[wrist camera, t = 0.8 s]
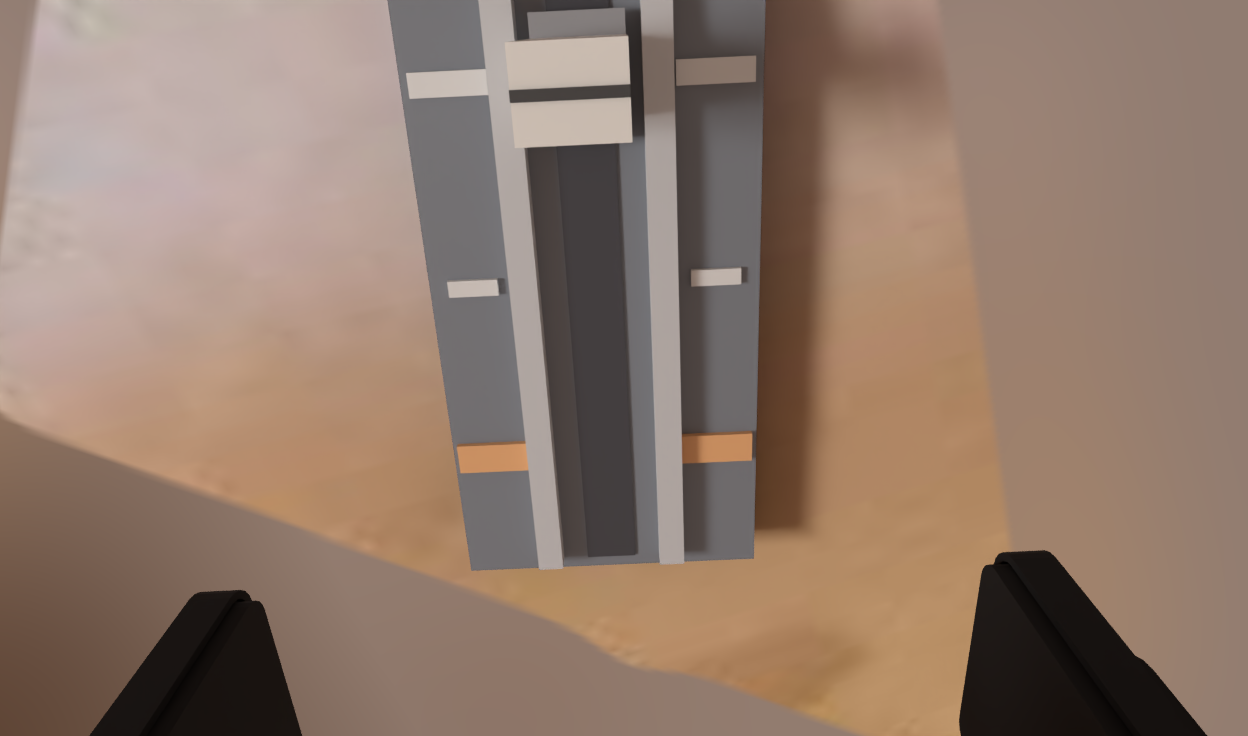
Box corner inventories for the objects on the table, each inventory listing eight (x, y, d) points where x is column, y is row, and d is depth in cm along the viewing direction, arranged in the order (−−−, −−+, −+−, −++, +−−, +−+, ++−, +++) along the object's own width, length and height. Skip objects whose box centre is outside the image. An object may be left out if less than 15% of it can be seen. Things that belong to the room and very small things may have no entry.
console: (398, -29, 27) (375, -34, 24) (756, -47, 27) (771, -55, 24) (478, 542, 36) (468, 582, 33) (746, 531, 36) (756, 570, 33)
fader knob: (529, 12, 25) (500, 8, 19) (624, 8, 25) (626, 1, 19) (540, 143, 27) (516, 178, 21) (629, 139, 27) (633, 173, 21)
